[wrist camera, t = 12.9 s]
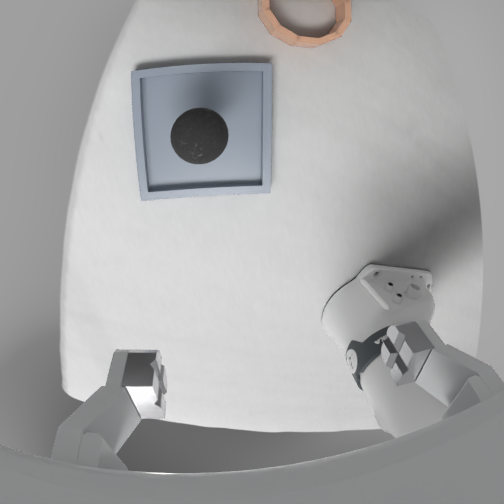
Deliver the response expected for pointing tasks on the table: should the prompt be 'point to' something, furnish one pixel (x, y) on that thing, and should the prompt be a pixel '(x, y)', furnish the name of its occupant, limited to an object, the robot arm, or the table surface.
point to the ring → (280, 32)
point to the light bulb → (199, 135)
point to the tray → (219, 100)
